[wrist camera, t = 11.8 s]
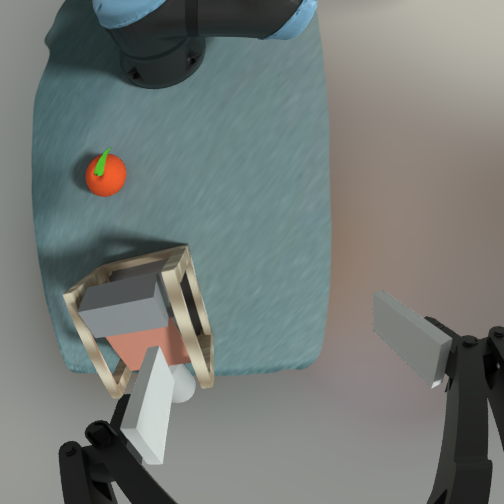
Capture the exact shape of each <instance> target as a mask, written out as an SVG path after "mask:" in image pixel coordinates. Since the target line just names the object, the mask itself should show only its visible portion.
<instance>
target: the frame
mask: <svg viewBox="0 0 504 504" xmlns="http://www.w3.org/2000/svg"><path fill="white" fill-rule="evenodd" d="M153 272H158V274H159V277H160V279H161V281H162V284H163V286H164V288H165V291H166V293H167V295H168V298H169V300H170V301H169V307H172V309H173V312H174V315H175V317H172V318H173V320H174V322H175V324H176V326H177V328H178V330H179V332H180V334H181V336H182V338H183V341H184V343H185V346H186V349H187V352H188V354H189V357H190V360H191V362H192V365H193V367H194V370H195V372H196V375H197V377H198V380H199V382H200V385H201V387H202V389H204V388H210V387H213V383H214V336H213V332H212V329H211V326H210V322H209V319H208V316H207V312H206V309H205V305H204V302H203V298H202V295H201V291H200V288H199V284H198V280H197V277H196V273H195V269H194V266H193V262H192V258H191V254H190V250H189V246H188V244H186V245H181V246H177V247H173V248H169V249H164V250H160V251H156V252H152V253H148V254H144V255H140V256H135V257H131V258H127V259H123V260H119V261H115V262H111V263H107V264H103V265H100V266H99V267H97V268H96V269H95V270H93V271H92V272H91V273H89V274H88V275H87V276H85V277H84V278H83V279H82V280H80V281H79V282H78V283H76V284H75V285H74V286H72V287H71V288H70V289H69V290H67V291H66V292H65V293H64V294H63V297H64V299H65V302H66V305H67V307H68V310H69V312H70V315H71V317H72V319H73V322H74V324H75V326H76V329H77V331H78V333H79V335H80V338H81V340H82V342H83V344H84V346H85V348H86V350H87V352H88V354H89V356H90V358H91V360H92V362H93V364H94V366H95V368H96V370H97V372H98V374H99V375H100V377H101V379H102V381H103V383H104V384H105V386H106V388H107V390H108V391H109V393H110V395H111V396H112V398H121V397H122V394H124V391H125V388H126V386H127V383H128V381H129V378H130V376H131V373H132V371H131V370H130V369H129V368H128V366H127V365H126V364H125V363H124V361H123V360H122V359H121V358H120V361H119V363H118V365H117V367H116V369H115V371H114V373H113V375H112V374H111V372H110V370H109V368H108V366H107V364H106V362H105V360H104V358H103V356H102V354H101V352H100V350H99V348H98V346H97V344H96V342H95V340H94V337H93V335H92V333H91V331H90V330H89V328H88V327H87V326H86V324H85V323H84V321H83V320H82V318H81V317H80V315H79V314H78V309H79V307H80V304H81V302H82V299H83V297H84V294H85V292H86V289H87V287H92V286H96V285H101V284H105V283H109V282H114V281H118V280H123V279H127V278H131V277H136V276H140V275H145V274H149V273H153Z"/></svg>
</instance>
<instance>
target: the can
mask: <svg viewBox="0 0 504 504" xmlns="http://www.w3.org/2000/svg"><path fill="white" fill-rule="evenodd" d="M168 367H169V369H170V372H171V374H172V376H173V378H174V380H175V382H174V388H173V394H172V401H171V402H172V403H182V402H185V401H187V400H188V399H190V398H191V397H192V395H193V394H194V391H195V384H196V383H195V379H194V377H193V376H192V375H191V373H190V372H189V371H188V369H187V368H186V367H185V365H184V364H178V365H172V366H168Z"/></svg>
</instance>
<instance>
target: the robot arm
mask: <svg viewBox="0 0 504 504" xmlns="http://www.w3.org/2000/svg"><path fill="white" fill-rule="evenodd" d="M316 7H317V0H93V9H94V11H95V13H96V15H97V17H98V19H99V23H100V24H101V25H102V26H103V27H104V28H105V29H106V30H107V32H108V33H109V34H110V36H111V37H112V39H113V40H114V41H115V43H116V44H117V45H118V47H119V48H120V64H121V67H122V70H123V72H124V73H125V74H126V76H127V77H128V78H129V79H130V80H131V81H132V82H133V83H135V84H136V85H138V86H141V87H144V88H149V89H160V88H166V87H170V86H173V85H176V84H178V83H180V82H182V81H184V80H185V79H187V78H188V77H190V76H191V75H192V74H193V73H194V72H195V71H196V70H197V69H198V67H199V66H200V65H201V63H202V61H203V59H204V55H205V38H204V37H248V38H257V39H260V40H264V39H265V40H267V39H280V40H287V39H291V38H294V37H296V36H298V35H299V34H300V33H301V32H302V31H303V30H304V29H305V28H306V26H307V25H308V23H309V22H310V20H311V18H312V16H313V14H314V12H315V9H316ZM373 331H374V332H375V333H376V334H377V335H378V336H379V337H380V338H381V339H382V340H383V341H384V342H385V343H386V344H387V345H388V346H390V348H391V349H393V350H394V351H395V352H396V353H397V354H398V355H399V356H400V357H401V358H402V359H403V360H404V361H405V362H406V363H407V364H408V365H409V366H410V367H411V368H412V369H413V370H414V371H415V372H416V373H417V374H418V375H419V376H420V377H421V378H422V379H423V380H424V381H425V382H426V383H427V384H428V385H429V386H430V387H431V388H433V387H435V386H437V385H438V384H440V383H442V382H443V378H444V374H447V375H448V376H449V379H448V383H447V386H446V390H445V392H447V404H446V416H445V425H444V433H443V440H442V447H441V453H440V458H439V464H438V469H437V474H436V478H435V482H434V486H433V490H432V493H431V495H430V497H429V499H428V502H427V504H488V501H489V494H490V487H491V479H492V467H493V466H492V461H491V460H488V458H487V454H488V406H487V398H488V400H489V403H490V406H491V409H492V412H493V415H494V418H495V421H496V425H497V428H498V431H499V435H500V439H501V443H502V446H503V451H504V327H500V326H496V327H493V328H491V329H490V330H489V334H488V337H486V338H483V339H477V338H476V337H474V336H469V335H467V336H462V337H461V336H459V335H458V334H456V333H455V332H453V331H452V330H451V329H449V328H447V327H445V326H444V325H443V324H441V323H440V322H439V321H437V320H436V319H434V318H431V317H427V316H426V317H425V318H423V317H421V316H420V315H418V314H417V313H415V312H414V311H412V310H411V309H410V308H408V307H407V306H405V305H404V304H402V303H401V302H400V301H398V300H397V299H395V298H394V297H392V296H391V295H389V294H388V293H386V292H385V291H383V290H382V291H379V292H376V293H373ZM174 382H175V380H174V378H173V376H172V374H171V372H170V369H169V367H168V365H167V362H166V360H165V358H164V355H163V353H162V350H161V348H160V346H154V347H148V348H147V351H146V354H145V356H144V359H143V362H142V365H141V367H140V370H139V373H138V376H137V379H136V381H135V384H134V388H133V390H132V393H131V394H126V395H125V394H124V395H123V396H122V397H121V398H120V400H119V401H118V403H117V406H116V409H115V411H114V415H113V417H112V419H111V422H110V424H109V423H108V422H107V421H103V420H100V421H95V422H93V423H91V424H90V425H89V426H88V427H87V428H86V431H85V437H86V438H87V439H88V440H89V442H90V443H91V444H92V445H90V446H85V447H81V446H80V444H78V443H77V442H75V441H69V442H66V443H64V444H63V445H62V446H61V447H60V449H59V466H60V475H61V483H62V491H63V497H64V502H65V504H118V503H117V500H116V497H115V494H114V491H113V488H112V485H111V482H113V481H116V483H117V484H118V486H119V487H120V488H121V490H122V491H123V493H124V494H125V495H126V497H127V498H128V499H129V501H130V502H131V503H132V504H178V503H176V502H175V501H174V500H173V499H172V498H171V497H170V496H169V495H168V493H167V492H165V490H164V489H163V488H162V487H161V486H160V485H159V484H158V483H157V482H156V481H155V480H154V479H153V478H152V476H151V475H150V474H149V473H148V472H147V471H146V470H145V468H144V467H143V466H142V465H141V463H142V458H143V459H144V460H145V462H146V463H147V464H163V457H164V450H165V441H166V434H167V427H168V420H169V413H170V406H171V401H172V394H173V388H174Z"/></svg>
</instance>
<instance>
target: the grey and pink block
mask: <svg viewBox="0 0 504 504" xmlns="http://www.w3.org/2000/svg"><path fill="white" fill-rule="evenodd" d="M169 301H170V300H169V298H168V295H167V293H166V291H165V288H164V286H163V284H162V281H161V279H160V277H159V274H158V272H153V273H149V274H145V275H140V276H136V277H131V278H127V279H123V280H118V281H114V282H109V283H105V284H101V285H96V286H92V287H87V289H86V292H85V294H84V297H83V299H82V302H81V304H80V307H79V309H78V314H79V315H80V317H81V318H82V320H83V321H84V323H85V324H86V326H87V327H88V328H89V330H90V331H91V333H92V334H93V335H94V337H95V338H101V337H106V339H107V340H108V341H109V343H110V344H111V346H112V347H113V348H114V350H115V351H116V352H117V354H118V355H119V356H120V357H121V359H122V360H123V361H124V363H125V364H126V365H127V366H128V368H129V369H130V370H131V371H134V370H140V367H141V365H142V362H143V359H144V356H145V354H146V351H147V348H148V347H154V346H160V348H161V350H162V353H163V355H164V358H165V360H166V362H167V365H168V366H172V365H178V364H184V363H190V362H191V360H190V357H189V354H188V352H187V349H186V346H185V343H184V341H183V338H182V336H181V334H180V332H179V330H178V328H177V326H176V324H175V322H174V320H173V318H172V317H175V315H174V312H173V309H172V307H169Z"/></svg>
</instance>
